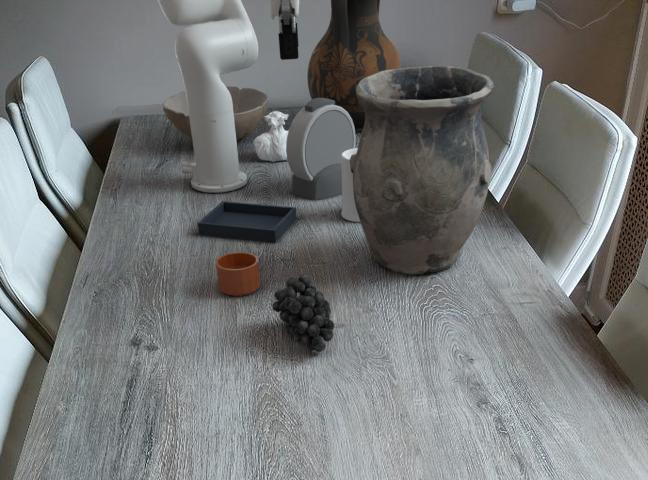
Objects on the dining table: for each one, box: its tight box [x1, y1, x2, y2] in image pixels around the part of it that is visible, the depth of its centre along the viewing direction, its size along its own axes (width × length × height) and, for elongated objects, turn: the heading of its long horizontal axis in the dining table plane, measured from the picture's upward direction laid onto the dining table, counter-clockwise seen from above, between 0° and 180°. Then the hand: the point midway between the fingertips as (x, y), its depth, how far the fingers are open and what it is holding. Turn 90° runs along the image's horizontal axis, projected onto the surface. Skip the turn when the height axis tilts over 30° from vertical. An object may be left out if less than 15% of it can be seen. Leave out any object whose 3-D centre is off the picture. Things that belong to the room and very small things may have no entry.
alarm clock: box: [286, 98, 357, 201], centre depth 169 cm, size 16×10×18 cm, turn 134°
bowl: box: [162, 85, 269, 142], centre depth 201 cm, size 26×26×10 cm
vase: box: [306, 0, 402, 133], centre depth 201 cm, size 24×24×35 cm
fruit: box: [271, 274, 335, 353], centre depth 121 cm, size 9×8×15 cm
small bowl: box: [214, 251, 262, 297], centre depth 137 cm, size 7×7×5 cm
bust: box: [252, 110, 289, 163], centre depth 190 cm, size 12×8×11 cm
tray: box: [197, 200, 297, 243], centre depth 159 cm, size 16×12×2 cm
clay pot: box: [350, 65, 495, 276], centre depth 136 cm, size 22×23×30 cm
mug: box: [340, 147, 361, 223], centre depth 159 cm, size 12×8×12 cm
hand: (289, 53), depth 142 cm, fingers open, 9 cm apart
